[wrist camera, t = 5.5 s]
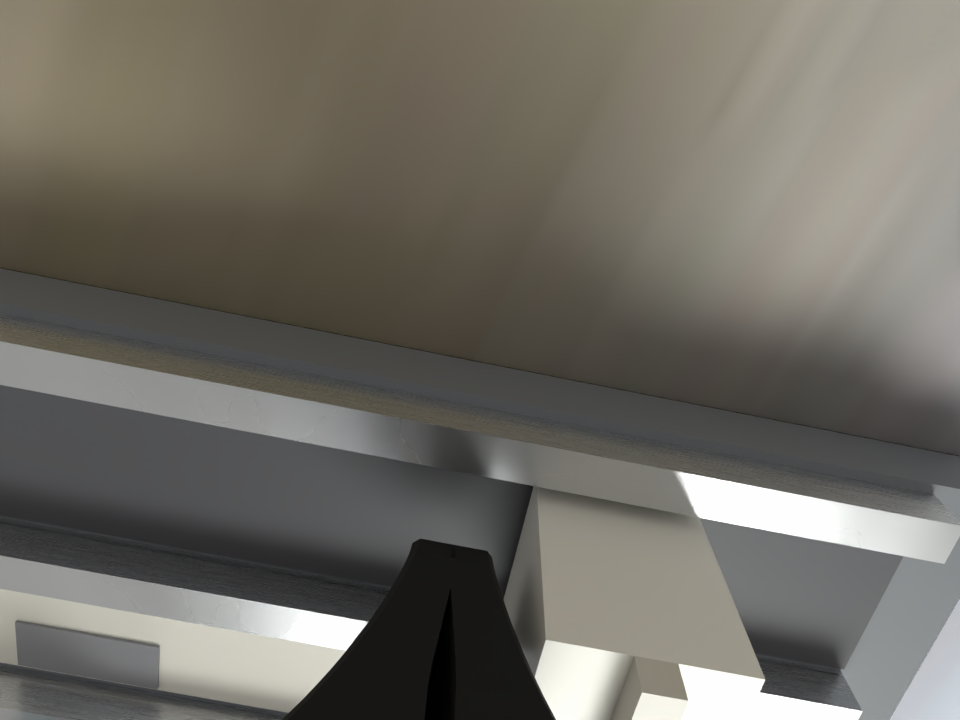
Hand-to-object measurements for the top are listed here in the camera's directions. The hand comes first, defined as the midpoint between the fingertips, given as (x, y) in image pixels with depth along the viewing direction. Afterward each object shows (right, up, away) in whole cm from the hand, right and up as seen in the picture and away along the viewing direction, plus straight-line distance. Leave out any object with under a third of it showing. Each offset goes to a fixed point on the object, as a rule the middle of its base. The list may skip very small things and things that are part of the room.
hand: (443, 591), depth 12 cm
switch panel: (-2, -2, +5) cm, 5 cm away
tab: (+3, 0, +2) cm, 3 cm away
